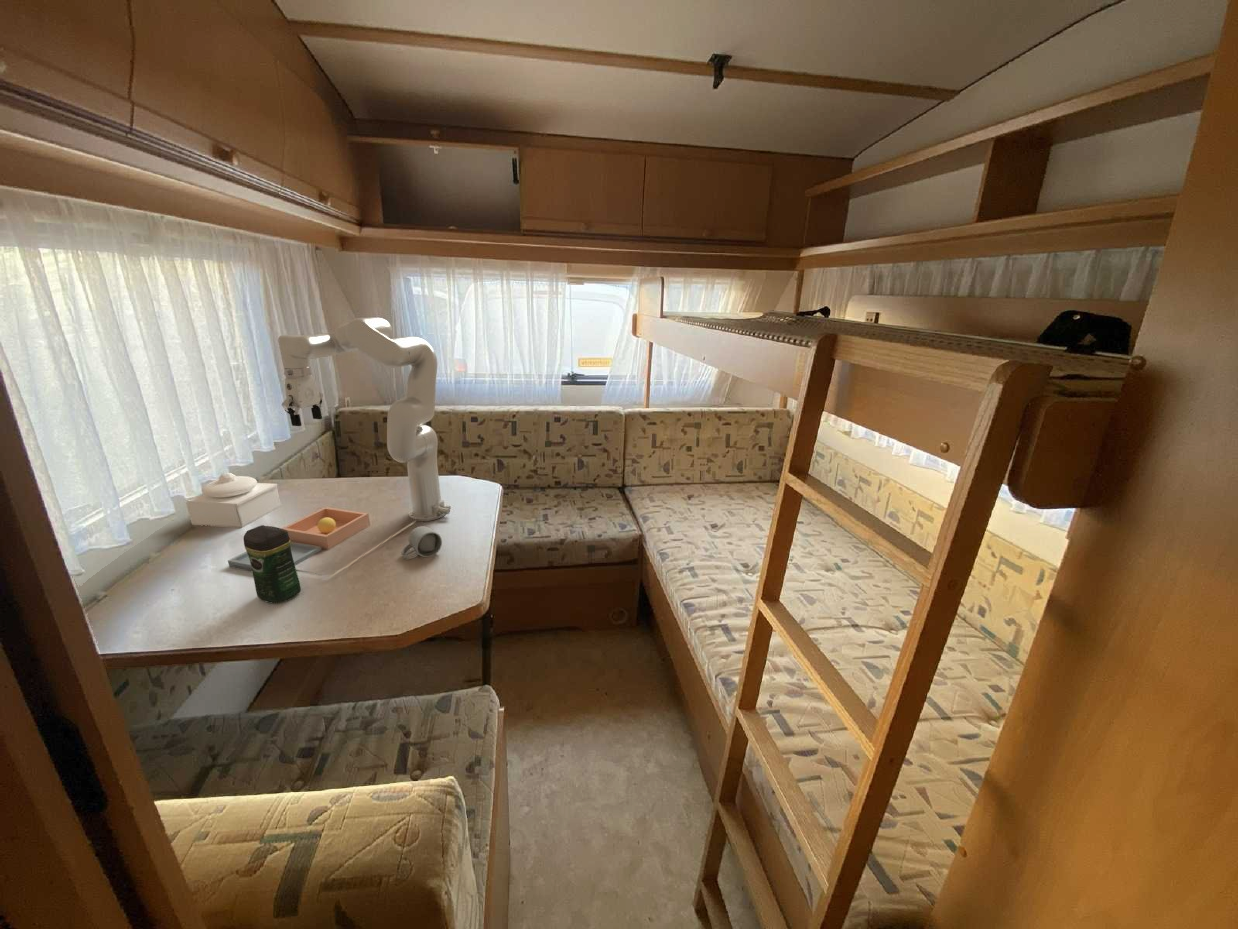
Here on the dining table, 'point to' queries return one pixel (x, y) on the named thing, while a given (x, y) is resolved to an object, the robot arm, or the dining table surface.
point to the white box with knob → (233, 502)
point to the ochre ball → (326, 525)
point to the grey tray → (297, 550)
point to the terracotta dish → (345, 528)
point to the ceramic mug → (422, 543)
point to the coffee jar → (272, 563)
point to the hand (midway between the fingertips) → (307, 422)
